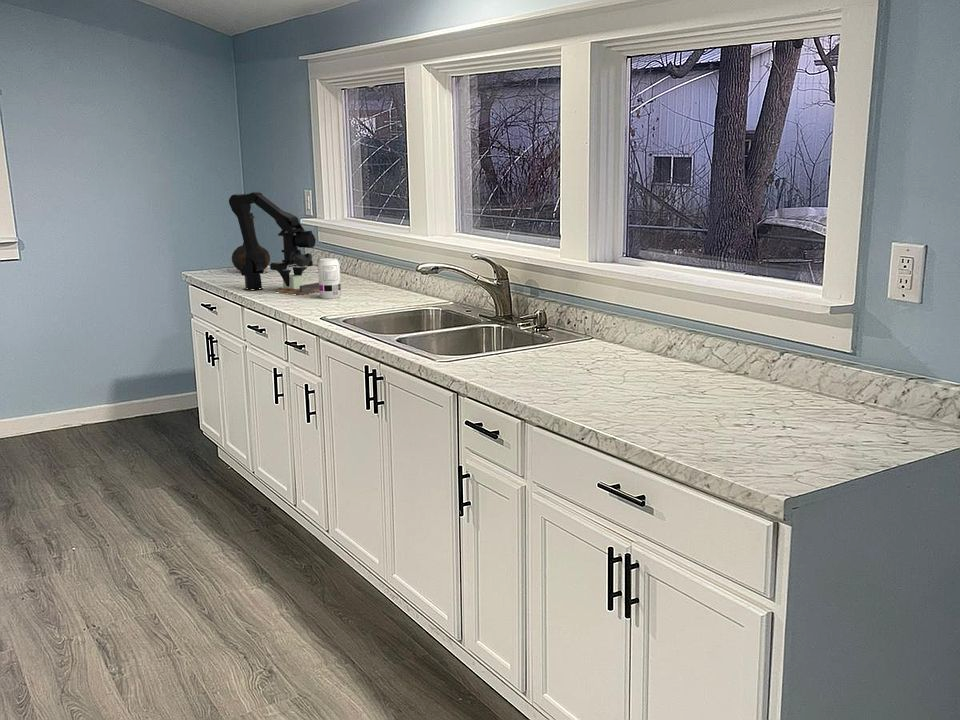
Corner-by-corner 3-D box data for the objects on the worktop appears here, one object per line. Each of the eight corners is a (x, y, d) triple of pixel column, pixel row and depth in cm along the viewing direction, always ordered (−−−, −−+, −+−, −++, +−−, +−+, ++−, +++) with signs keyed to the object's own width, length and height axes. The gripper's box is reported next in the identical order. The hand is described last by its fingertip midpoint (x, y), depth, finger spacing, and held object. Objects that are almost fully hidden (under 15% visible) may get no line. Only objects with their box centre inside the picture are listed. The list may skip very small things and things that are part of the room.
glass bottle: (252, 268, 463) (248, 210, 457) (279, 270, 453) (275, 211, 447) (224, 273, 448) (220, 213, 442) (251, 275, 439) (247, 214, 433)
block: (283, 288, 386) (282, 276, 385) (292, 286, 390) (291, 274, 389) (293, 289, 383) (293, 277, 382) (302, 287, 387) (302, 275, 386)
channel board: (275, 293, 383) (275, 284, 383) (299, 288, 394) (298, 280, 393) (300, 295, 375) (299, 286, 375) (323, 291, 386) (323, 282, 385)
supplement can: (315, 298, 368) (313, 260, 365) (328, 295, 375) (326, 257, 372) (332, 299, 364) (330, 260, 361) (345, 296, 371) (343, 258, 368)
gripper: (287, 250, 371) (289, 290, 374) (321, 246, 386) (323, 284, 389) (268, 249, 377) (270, 287, 380) (302, 244, 392) (304, 282, 395)
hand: (292, 285), depth 386 cm, fingers closed on block, 5 cm apart
